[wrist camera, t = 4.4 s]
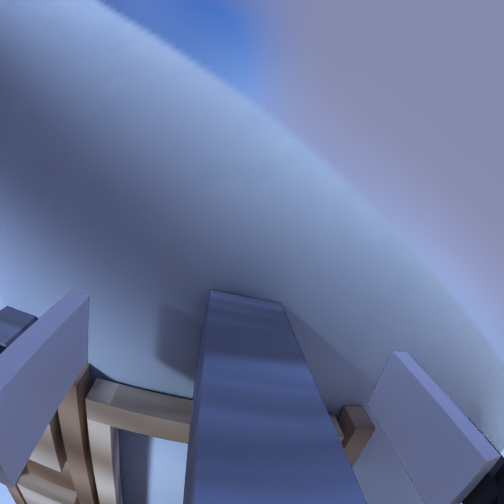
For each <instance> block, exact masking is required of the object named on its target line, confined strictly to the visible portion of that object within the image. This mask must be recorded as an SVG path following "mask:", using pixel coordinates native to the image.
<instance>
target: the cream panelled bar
mask: <svg viewBox="0 0 504 504" xmlns="http://www.w3.org/2000/svg"><path fill="white" fill-rule="evenodd" d="M35 322H36V317H35V316H33V315H30V314H27V313H24V312H21V311H19V310H16V309H13V308H11V307H8V306H6V307H5V308H3V309H2V310H1V311H0V345H2V346H4V347H8V346H10V345H11V344H12V343H13V342H14V341H15V340H16V339H17V338H18V337H19V336H20V335H21V334H22V333H24V332H25V331H26V330H27V329H28V328H29V327H30V326H31V325H32V324H34V323H35ZM29 459H30V460H32V461H35V462H37V463H39V464H42V465H44V466H46V467H49V468H51V469H54V470H56V471H59V472H62V470H63V467H64V465H65V463H66V461H67V456H66V451H65V446H64V442H63V437H62V431H61V426H60V420H59V414H58V409H57V411H56V413H55V414H54V416H53V418H52V419H51V421H50V423H49V424H48V426H47V428H46V430H45V431H44V433H43V435H42V437H41V438H40V440H39V442H38V444H37V445H36V447H35V449H34V451H33V452H32V454H31V456H30V458H29ZM17 485H18V487H19V489H20V491H21V493H22V495H23V497H24V499H25V500H26V502H27V504H79V501H78V497H77V494H76V492H75V491H72V490H70V489H67V488H64V487H62V486H59V485H56V484H54V483H51V482H49V481H47V480H44V479H42V478H40V477H37V476H35V475H33V474H31V473H28V472H26V471H23V473H22V475H21V477H20V479H19V481H18V482H17Z"/></svg>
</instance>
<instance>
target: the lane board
mask: <svg viewBox="0 0 504 504" xmlns="http://www.w3.org/2000/svg"><path fill="white" fill-rule="evenodd" d="M89 391H90V364H88V363H86V365H85V366H84V368H83V369H82V371H81V372H80V374H79V376H78V377H77V379H76V380H75V382H74V383H73V385H72V387H71V388H70V390H69V391H68V393H67V395H66V396H65V398H64V399H63V401H62V403H61V404H60V406H59V408H58V414H59V420H60V426H61V431H62V437H63V442H64V446H65V451H66V456H67V461H66V463H65V465H64V467H63V470H62V472H59V471H56V470H54V469H51V468H49V467H46V466H44V465H42V464H39V463H37V462H35V461H32V460H30V459H29V460H28V462H27V463H26V465H25V467H24V469H23V471H26V472H28V473H31V474H33V475H35V476H37V477H40V478H42V479H44V480H47V481H49V482H51V483H54V484H56V485H59V486H62V487H64V488H67V489H70V490H72V491H75V492H76V494H77V497H78V501H79V504H100V502H99V497H98V492H97V487H96V481H95V476H94V470H93V463H92V456H91V449H90V441H89V433H88V423H87V412H86V399H85V398H86V396H87V395H88V393H89ZM337 422H338V424H339V426H340V428H341V431H342V433H343V435H344V439H343V440H342V442H341V444H342V446H343V449H344V451H345V453H346V456H347V458H348V460H349V463H350V465H351V466H352V465H353V463H354V462H355V460H356V459H357V457H358V456H359V454H360V453H361V451H362V450H363V448H364V446H365V445H366V443H367V442H368V440H369V438H370V437H371V435H372V433H373V432H374V430H375V427H374V425H373V423H372V422H371V420H370V418H369V416H368V415H367V413H366V411H365V409H364V408H363V406H344V408H343V410H342V412H341V414H340V416H339V418H338V420H337ZM23 471H22V473H23ZM22 473H21V475H22ZM21 475H20V477H21ZM20 477H19V478H18V480H17V482H18V481H19V479H20ZM17 482H16V484H15V486H14V488H13V489H12V488H10V487H8V486H7V488H8V490H9V492H10V493H11V495H12V497H13V499H14V500H15V502H16V504H27V502H26V500H25V499H24V497H23V495H22V493H21V491H20V489H19V487H18V485H17Z"/></svg>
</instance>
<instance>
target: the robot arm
mask: <svg viewBox="0 0 504 504" xmlns="http://www.w3.org/2000/svg"><path fill="white" fill-rule="evenodd" d="M88 317H89V296H86V295H83V294H79V293H75V292H72V291H70V292H69V293H68V294H67V295H66V296H65V297H63V298H62V299H61V300H60V301H59V302H58V303H56V304H55V305H54V306H53V307H52V308H51V309H49V310H48V311H47V312H46V313H45V314H44V315H43V316H41V317H40V318H39V319H38V320H37V321H36V322H35V323H34V324H32V325H31V326H30V327H29V328H28V329H27V330H26V331H25V332H24V333H22V334H21V335H20V336H19V337H18V338H17V339H16V340H15V341H14V342H13V343H12V344H11V345H10V346H8V347H4V346H2V345H0V482H1V483H2V484H4V485H6V486H8V487H10V488H12V489H13V488H14V486H15V484H16V482H17V480H18V478H19V477H20V475H21V473H22V471H23V469H24V467H25V465H26V463H27V462H28V460H29V458H30V456H31V454H32V452H33V451H34V449H35V447H36V445H37V444H38V442H39V440H40V438H41V437H42V435H43V433H44V431H45V430H46V428H47V426H48V424H49V423H50V421H51V419H52V418H53V416H54V414H55V413H56V411H57V409H58V408H59V406H60V404H61V403H62V401H63V399H64V398H65V396H66V395H67V393H68V391H69V390H70V388H71V387H72V385H73V383H74V382H75V380H76V379H77V377H78V376H79V374H80V372H81V371H82V369H83V368H84V366H85V365H86V363H87V362H88ZM367 405H368V407H369V408H370V410H371V412H372V413H373V415H374V417H375V418H376V420H377V422H378V424H379V425H380V427H381V429H382V430H383V432H384V434H385V435H386V437H387V439H388V441H389V442H390V444H391V446H392V447H393V449H394V451H395V453H396V454H397V456H398V458H399V459H400V461H401V463H402V465H403V466H404V468H405V470H406V472H407V473H408V475H409V477H410V479H411V480H412V482H413V484H414V485H415V487H416V489H417V491H418V493H419V494H420V496H421V498H422V500H423V501H424V503H425V504H460V503H461V502H462V504H504V458H503V456H502V455H501V454H500V453H499V452H498V450H497V449H496V448H495V447H494V446H493V445H492V444H491V442H490V441H489V440H488V439H487V438H486V437H485V436H483V433H482V432H481V431H480V430H479V429H477V427H476V425H475V424H474V423H473V422H472V421H471V420H470V419H469V418H468V417H466V415H465V414H464V413H463V412H462V411H461V410H460V409H459V408H458V407H457V405H456V404H455V403H454V402H453V401H452V400H451V399H450V398H449V397H448V396H447V395H446V393H445V392H444V391H443V390H442V389H441V388H440V387H439V386H438V385H437V384H436V383H435V382H434V381H433V379H432V378H431V377H430V376H429V375H428V374H427V373H426V372H425V371H424V370H423V369H422V368H421V367H420V366H419V365H418V364H417V362H416V361H415V360H414V359H413V358H412V357H411V356H410V355H409V354H408V353H407V352H400V351H392V352H391V355H390V357H389V359H388V362H387V364H386V366H385V368H384V370H383V372H382V375H381V377H380V379H379V381H378V383H377V385H376V387H375V389H374V391H373V393H372V395H371V397H370V399H369V401H368V403H367Z"/></svg>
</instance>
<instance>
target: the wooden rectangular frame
mask: <svg viewBox="0 0 504 504" xmlns="http://www.w3.org/2000/svg"><path fill="white" fill-rule="evenodd" d="M85 399H86V412H87V423H88V433H89V441H90V449H91V456H92V463H93V470H94V476H95V481H96V487H97V492H98V497H99V502H100V504H123V500H122V488H121V474H120V456H119V428H120V429H123V430H127V431H131V432H135V433H139V434H143V435H148V436H152V437H157V438H161V439H166V440H171V441H177V442H182V443H188V452H187V463H186V475H185V487H184V500H183V504H367V503H366V500H365V498H364V496H363V493H362V491H361V489H360V486H359V484H358V482H357V479H356V477H355V474H354V472H353V470H352V467H351V465H350V463H349V460H348V458H347V456H346V453H345V451H344V449H343V446H342V444H341V442H342V440H343V439H344V435H343V433H342V431H341V428H340V426H339V424H338V422H337V419H336V417H335V415H329V413H328V411H327V409H326V406H325V404H324V402H323V399H322V397H321V395H320V392H319V390H318V388H317V385H316V383H315V381H314V379H313V376H312V374H311V372H310V369H309V367H308V365H307V362H306V360H305V358H304V355H303V353H302V351H301V348H300V346H299V344H298V341H297V339H296V337H295V335H294V332H293V330H292V328H291V325H290V323H289V321H288V318H287V316H286V314H285V311H284V309H283V307H282V305H281V303H278V302H273V301H267V300H262V299H257V298H251V297H246V296H241V295H236V294H231V293H226V292H221V291H216V290H211V292H210V297H209V302H208V307H207V311H206V316H205V321H204V326H203V331H202V336H201V341H200V346H199V352H198V360H197V368H196V376H195V385H194V394H193V400H188V399H183V398H178V397H173V396H168V395H164V394H159V393H155V392H150V391H146V390H142V389H138V388H134V387H130V386H126V385H122V384H118V383H115V382H111V381H107V380H104V379H101V378H96V380H95V382H94V384H93V385H92V387H91V389H90V391H89V393H88V395H87V396H86V398H85Z"/></svg>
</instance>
